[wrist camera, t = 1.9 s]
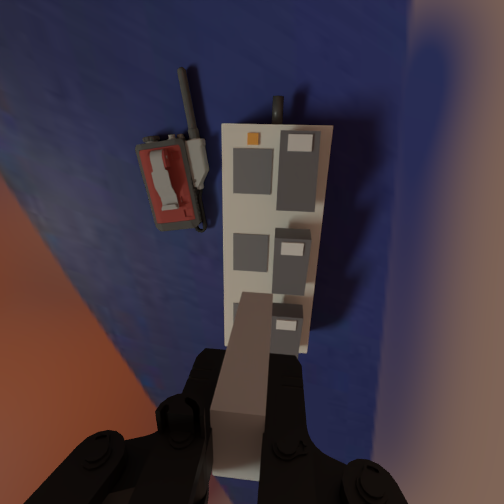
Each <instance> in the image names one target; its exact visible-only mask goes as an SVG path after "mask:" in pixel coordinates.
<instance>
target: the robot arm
mask: <svg viewBox="0 0 504 504" xmlns="http://www.w3.org/2000/svg"><path fill="white" fill-rule="evenodd" d="M272 304H273V294H270V293H256V292H242V294H241V298H240V302H239V305H238V309H237V313H236V316H235V320H234V324H233V327H232V331H231V335H230V338H229V342H228V346H227V349H226V350H220V349H209V348H205V349H204V350H203V351H202V352H201V353H200V354H199V355H198V356H197V357H196V360H195V362H194V365H193V367H192V370H191V372H190V375H189V378H188V380H187V382H186V385H185V387H184V389H183V392H182V394H176V395H174V396H171V397H169V398H167V399H166V400H165V401H163V402H162V403H161V404H160V405H159V407H158V408H157V409H156V411H155V413H156V421H157V428H158V431H156V432H155V433H153V434H150V435H147V436H143V437H139V438H134V439H129V440H124V438H123V436H122V435H121V434H119V433H118V432H117V431H112V430H106V431H101V432H97V433H95V434H93V435H91V436H89V437H87V438H86V439H85V440H84V441H83V442H82V443H80V444H79V445H78V446H77V447H76V448H75V449H74V450H73V451H72V452H71V453H70V454H69V456H68V457H67V458H66V459H65V460H64V461H63V462H62V463H61V464H60V465H59V466H58V467H57V468H56V469H55V471H54V472H53V473H52V474H51V475H50V476H49V477H48V478H47V479H46V480H45V481H44V482H43V483H42V484H41V486H40V487H39V488H38V489H37V490H36V491H35V492H34V493H33V494H32V495H31V496H30V497H29V499H27V500H26V502H25V503H24V504H207V503H208V495H209V492H208V491H209V485H208V484H209V480H210V475H211V471H212V473H213V475H215V476H223V477H230V478H238V479H246V480H254V481H259V489H258V503H257V504H408V503H407V501H406V499H405V497H404V495H403V494H402V492H401V490H400V488H399V486H398V484H397V483H396V482H395V480H394V479H393V478H392V476H391V475H390V473H389V472H387V471H386V470H385V469H383V467H381V466H380V465H379V464H377V463H375V462H372V461H370V460H367V459H356V460H353V461H351V462H349V463H348V465H346V464H344V463H342V462H339V461H337V460H335V459H333V458H331V457H329V456H327V455H326V454H324V453H322V452H321V451H320V450H319V449H318V448H317V447H316V446H315V445H314V443H313V442H312V441H311V439H310V437H309V434H308V431H307V425H306V413H305V401H304V390H303V380H302V366H301V364H300V362H299V361H298V359H297V357H296V356H295V355H286V354H275V353H270V339H271V322H272Z"/></svg>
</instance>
